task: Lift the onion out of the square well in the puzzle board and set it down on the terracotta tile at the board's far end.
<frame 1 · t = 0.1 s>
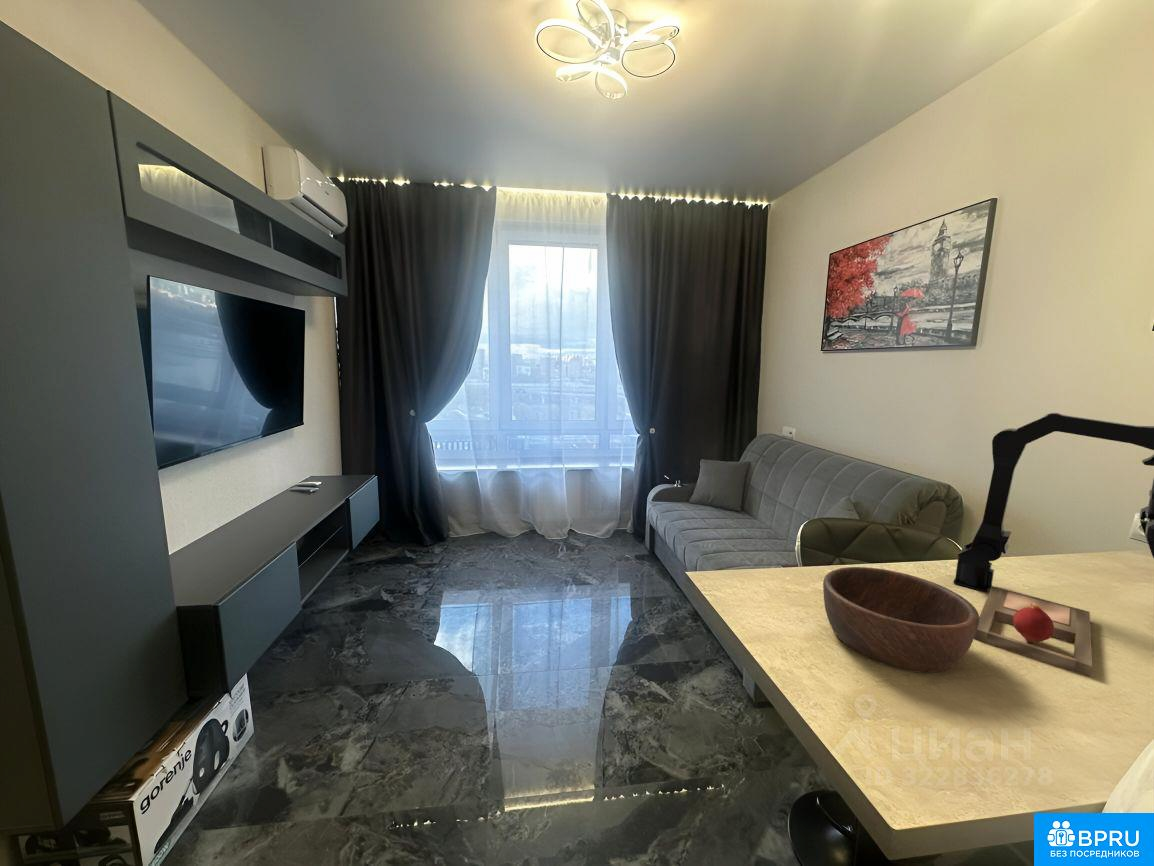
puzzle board: (1032, 628, 98), on the table
onion: (1030, 642, 93), resting in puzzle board
wooden bowl: (890, 643, 93), on the table
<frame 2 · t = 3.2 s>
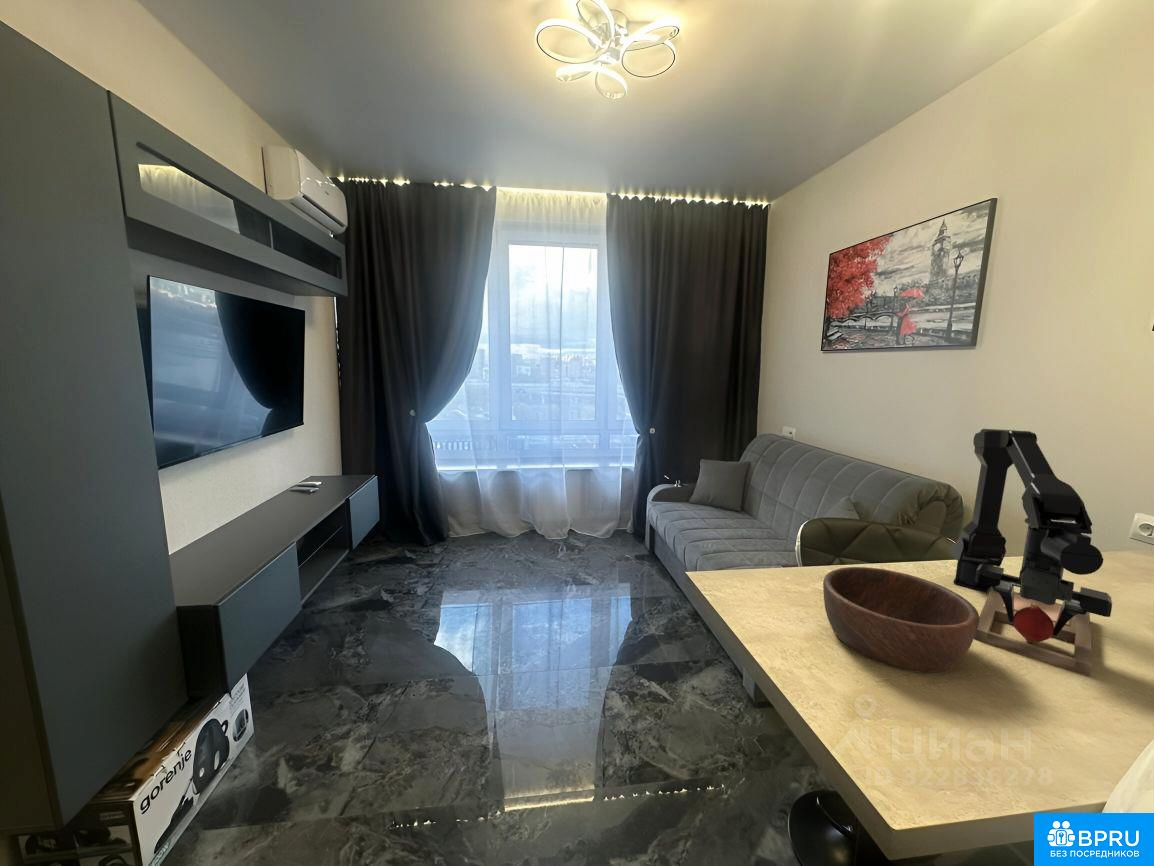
hand: (1032, 628, 93), 3 cm above the table, fingers closed on onion, 6 cm apart
onion: (1030, 642, 93), resting in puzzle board, touching gripper
everything else where it was.
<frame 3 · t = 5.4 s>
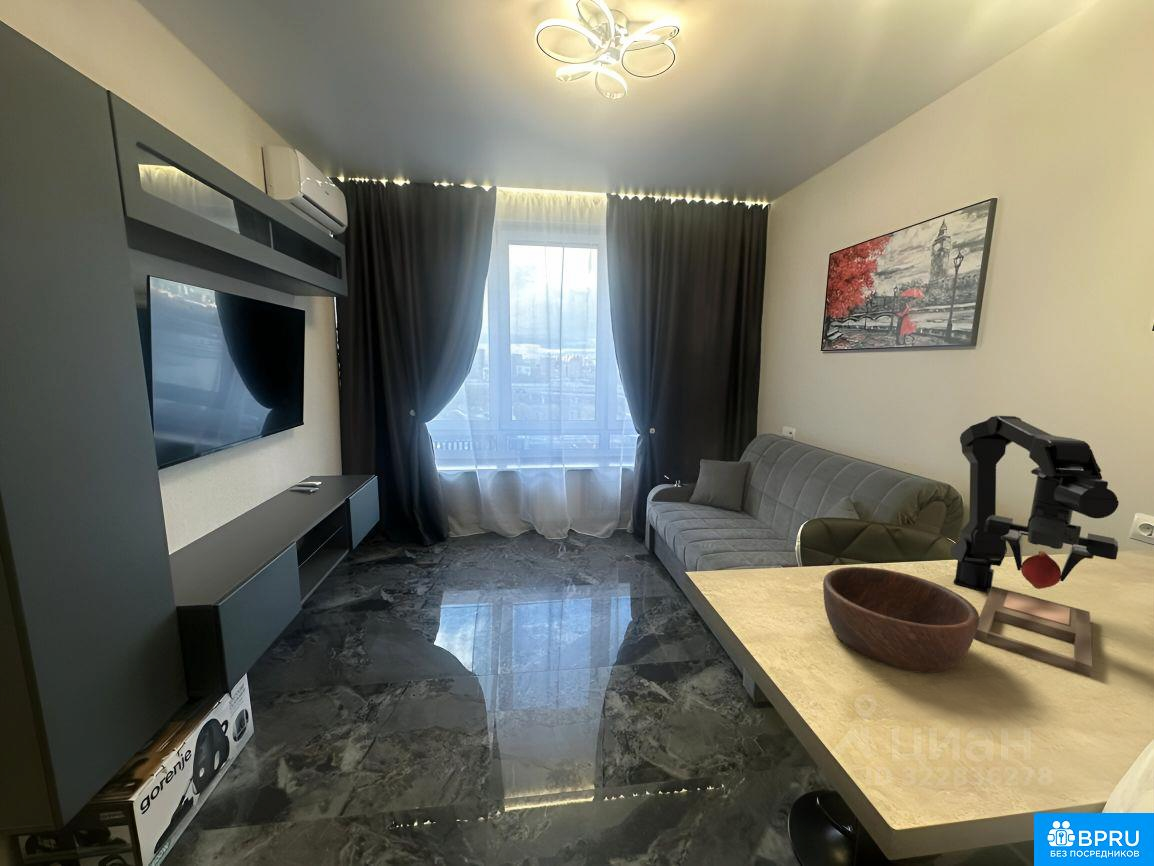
hand: (1039, 575, 96), 12 cm above the table, fingers closed on onion, 6 cm apart
onion: (1037, 589, 97), point 9 cm above the table, touching gripper
everything else where it was.
when the fingers open (6 cm above the table, at t = 7.8 s): onion drops 1 cm, resting on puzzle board.
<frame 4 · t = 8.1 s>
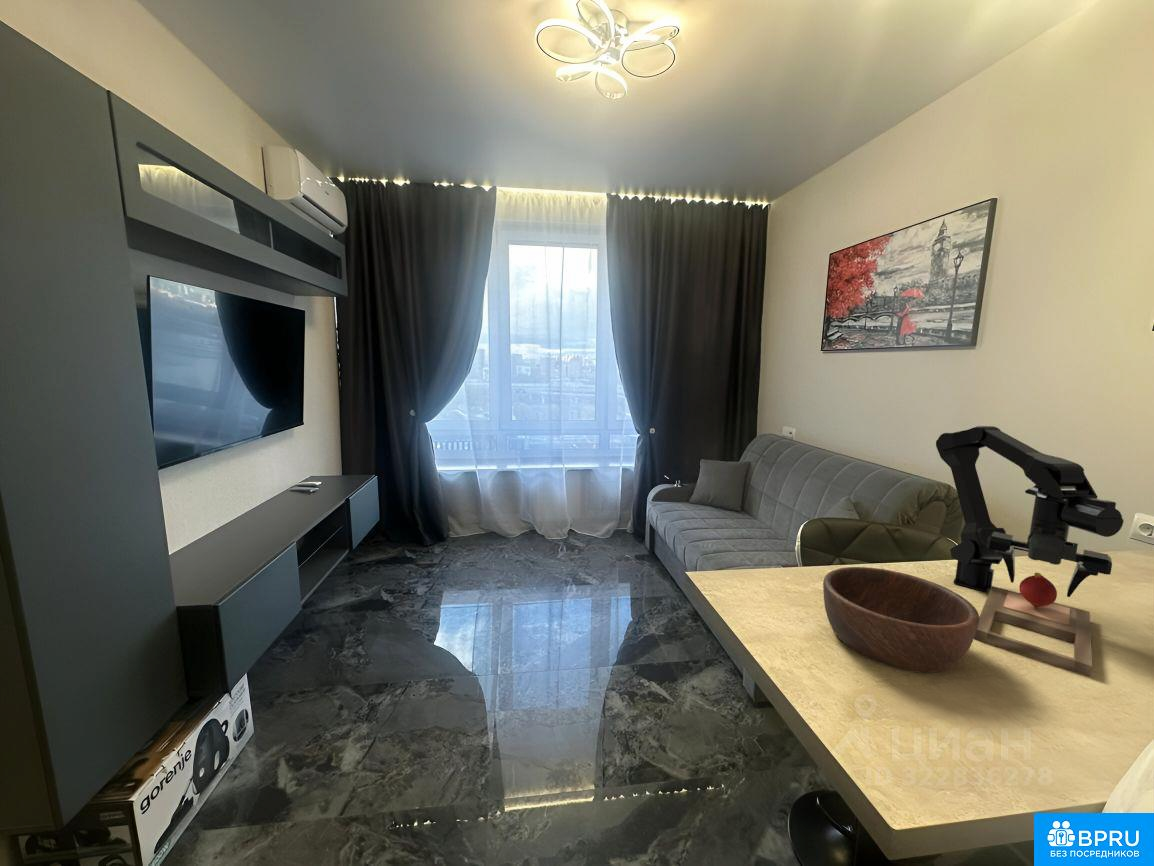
hand: (1039, 589, 102), 6 cm above the table, fingers open, 8 cm apart
onion: (1036, 607, 103), point 2 cm above the table, touching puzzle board
everything else where it was.
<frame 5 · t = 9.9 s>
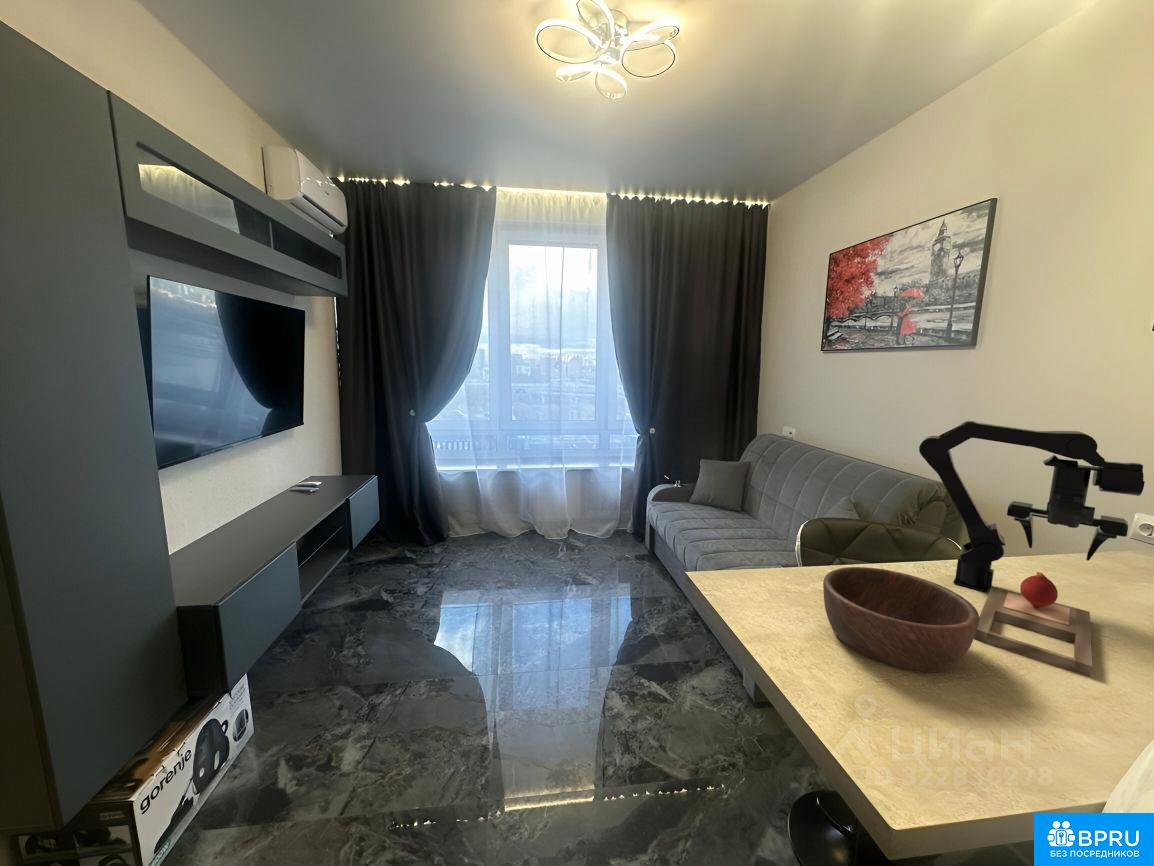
hand: (1058, 553, 108), 12 cm above the table, fingers open, 9 cm apart
nothing on the table moved.
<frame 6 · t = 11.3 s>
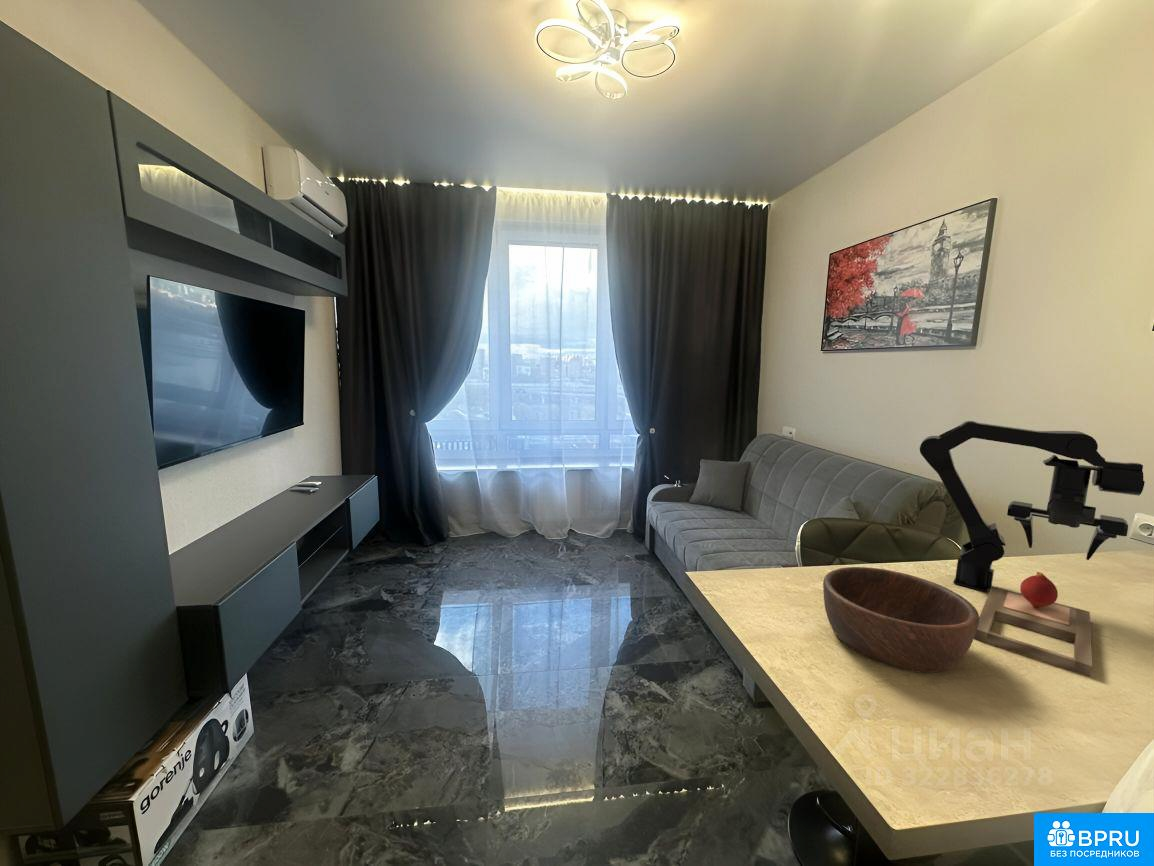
hand: (1058, 553, 108), 12 cm above the table, fingers open, 9 cm apart
nothing on the table moved.
at the end: onion inside the target area on the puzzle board (0.1 cm from its centre), point 2.1 cm above the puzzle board's base; the gripper is holding nothing; onion moved 14.2 cm from its start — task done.
